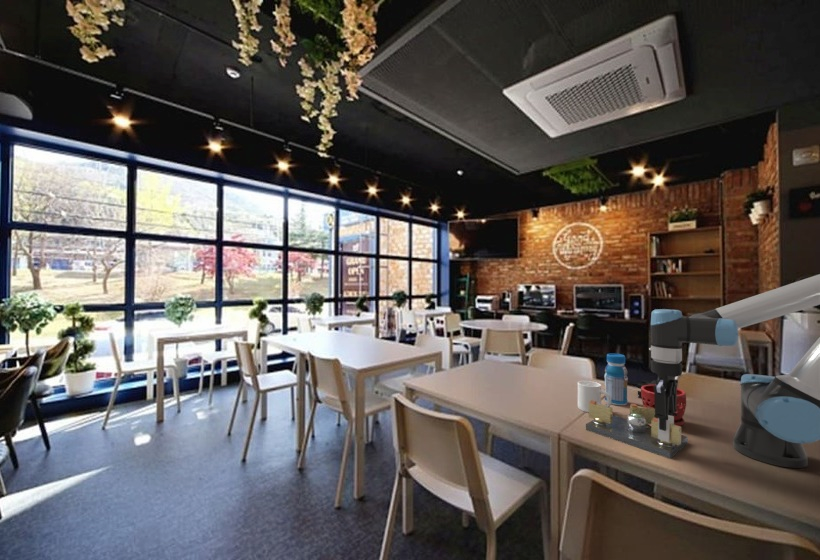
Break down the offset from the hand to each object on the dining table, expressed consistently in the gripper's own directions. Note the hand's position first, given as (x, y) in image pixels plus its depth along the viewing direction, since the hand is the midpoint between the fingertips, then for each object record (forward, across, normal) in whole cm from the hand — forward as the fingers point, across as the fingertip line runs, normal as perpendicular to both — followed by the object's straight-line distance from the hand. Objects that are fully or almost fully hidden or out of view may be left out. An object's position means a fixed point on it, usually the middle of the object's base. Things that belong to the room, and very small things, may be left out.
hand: (666, 438), depth 104 cm
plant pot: (+4, -24, -8) cm, 26 cm away
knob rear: (+1, -10, -9) cm, 13 cm away
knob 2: (+1, 0, 0) cm, 1 cm away
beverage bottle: (+4, -32, -27) cm, 42 cm away
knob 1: (+1, 0, -19) cm, 19 cm away
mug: (+4, -15, -28) cm, 32 cm away
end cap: (+4, -51, -21) cm, 55 cm away
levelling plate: (+4, -3, -10) cm, 11 cm away
